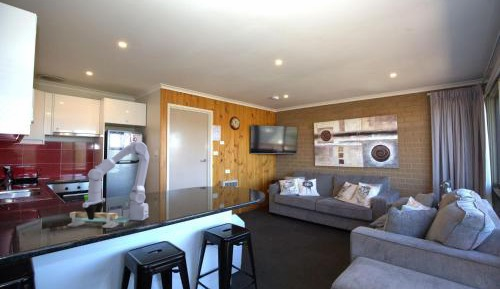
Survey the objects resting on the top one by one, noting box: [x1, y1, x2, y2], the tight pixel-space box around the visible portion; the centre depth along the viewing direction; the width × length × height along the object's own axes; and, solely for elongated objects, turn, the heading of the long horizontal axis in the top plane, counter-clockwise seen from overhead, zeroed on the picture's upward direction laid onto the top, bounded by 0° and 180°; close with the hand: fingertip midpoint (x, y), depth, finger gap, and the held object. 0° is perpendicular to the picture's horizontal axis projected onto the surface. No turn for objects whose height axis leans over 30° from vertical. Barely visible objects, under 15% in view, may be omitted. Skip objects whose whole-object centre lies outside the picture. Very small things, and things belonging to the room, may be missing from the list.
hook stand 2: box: [101, 215, 120, 229], centre depth 127 cm, size 5×6×6 cm
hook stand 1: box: [67, 214, 87, 228], centre depth 128 cm, size 5×6×6 cm
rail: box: [69, 211, 119, 219], centre depth 128 cm, size 24×2×2 cm, turn 88°
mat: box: [82, 215, 130, 224], centre depth 138 cm, size 26×10×1 cm, turn 88°
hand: (93, 218), depth 128 cm, fingers open, 4 cm apart
